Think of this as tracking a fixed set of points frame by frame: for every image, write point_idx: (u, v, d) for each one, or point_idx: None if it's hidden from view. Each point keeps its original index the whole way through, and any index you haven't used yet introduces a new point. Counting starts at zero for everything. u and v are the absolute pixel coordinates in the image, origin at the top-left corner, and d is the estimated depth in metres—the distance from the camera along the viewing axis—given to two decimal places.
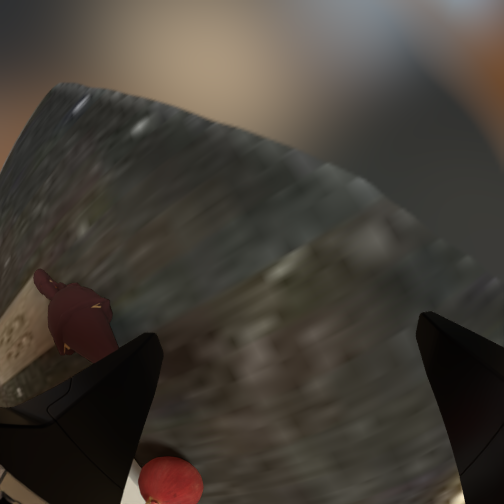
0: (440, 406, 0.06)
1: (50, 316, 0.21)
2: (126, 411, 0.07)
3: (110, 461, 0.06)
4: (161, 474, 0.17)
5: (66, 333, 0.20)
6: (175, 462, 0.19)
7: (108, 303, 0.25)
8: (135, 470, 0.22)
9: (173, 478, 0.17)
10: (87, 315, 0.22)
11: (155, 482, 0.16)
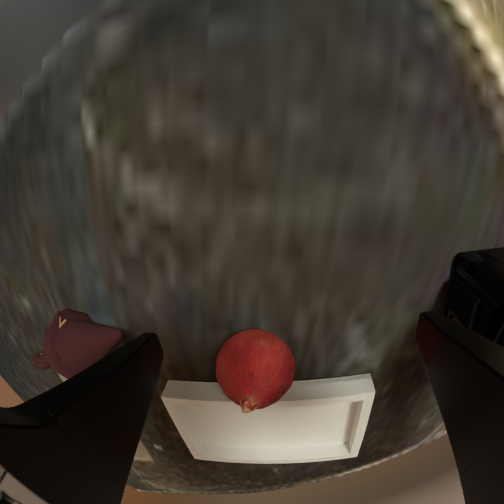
0: (440, 406, 0.06)
1: (55, 370, 0.20)
2: (126, 411, 0.07)
3: (110, 461, 0.06)
4: (223, 369, 0.18)
5: (69, 364, 0.20)
6: (225, 345, 0.20)
7: (69, 311, 0.23)
8: None
9: (232, 360, 0.18)
10: (61, 335, 0.21)
11: (227, 383, 0.18)
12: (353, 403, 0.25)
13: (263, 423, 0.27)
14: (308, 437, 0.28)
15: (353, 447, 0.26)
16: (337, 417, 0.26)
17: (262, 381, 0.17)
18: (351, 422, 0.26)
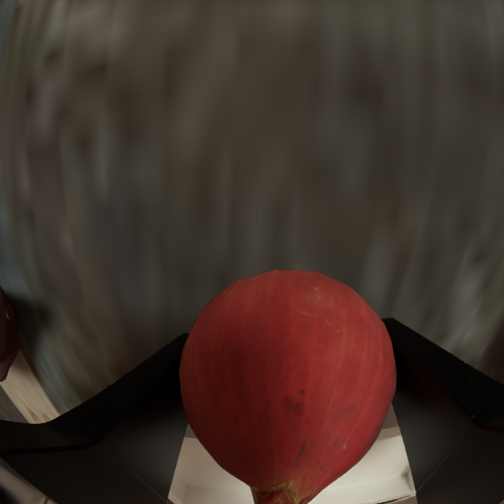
0: (397, 417, 0.06)
1: None
2: (171, 418, 0.07)
3: (155, 473, 0.05)
4: (195, 386, 0.05)
5: None
6: (205, 311, 0.07)
7: None
8: None
9: (224, 358, 0.05)
10: None
11: (208, 430, 0.05)
12: None
13: None
14: (353, 476, 0.15)
15: None
16: None
17: (333, 426, 0.04)
18: None
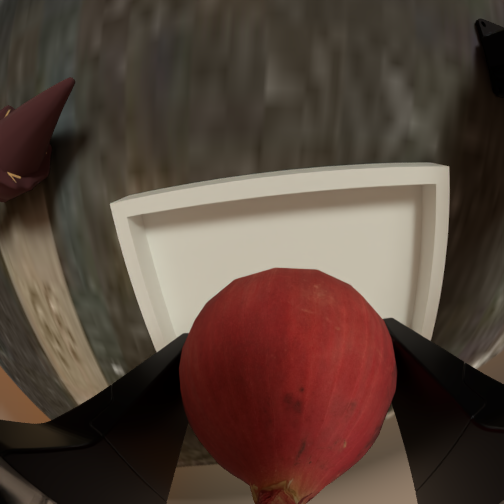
0: (397, 417, 0.06)
1: None
2: (171, 418, 0.07)
3: (155, 473, 0.05)
4: (194, 384, 0.05)
5: None
6: (204, 309, 0.07)
7: None
8: (246, 176, 0.16)
9: (223, 355, 0.05)
10: (1, 120, 0.12)
11: (208, 428, 0.05)
12: (417, 221, 0.16)
13: None
14: None
15: (426, 321, 0.17)
16: (396, 256, 0.17)
17: (333, 424, 0.04)
18: (416, 272, 0.18)
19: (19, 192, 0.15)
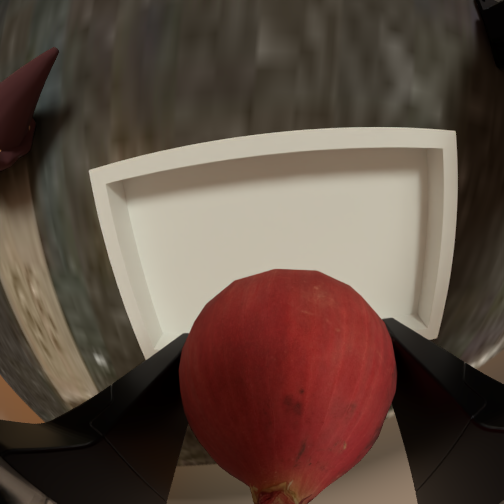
0: (397, 417, 0.06)
1: None
2: (171, 418, 0.07)
3: (155, 473, 0.05)
4: (194, 385, 0.05)
5: None
6: (204, 310, 0.07)
7: None
8: None
9: (223, 357, 0.05)
10: None
11: (208, 430, 0.05)
12: (423, 193, 0.15)
13: (268, 246, 0.17)
14: None
15: (434, 304, 0.15)
16: (401, 231, 0.16)
17: (333, 425, 0.04)
18: (423, 250, 0.16)
19: None
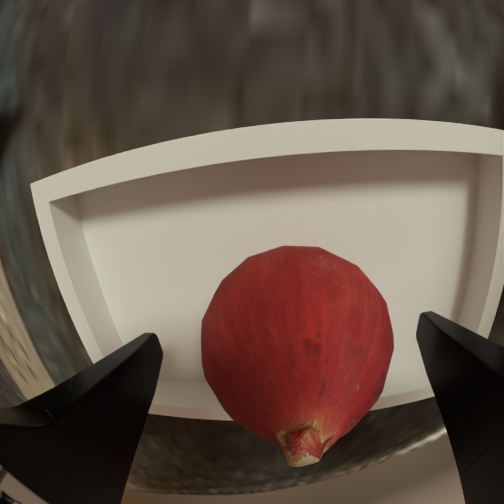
0: (440, 406, 0.06)
1: None
2: (126, 411, 0.07)
3: (110, 461, 0.06)
4: (221, 344, 0.07)
5: None
6: (223, 283, 0.08)
7: None
8: None
9: (248, 313, 0.06)
10: None
11: (235, 383, 0.06)
12: (470, 212, 0.10)
13: None
14: None
15: None
16: (440, 262, 0.11)
17: (346, 365, 0.05)
18: (463, 285, 0.11)
19: None
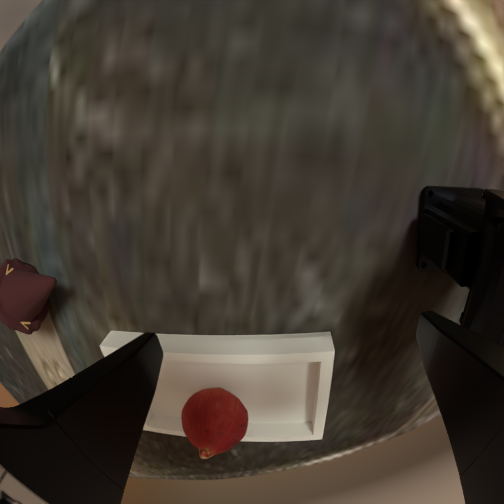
0: (440, 406, 0.06)
1: None
2: (126, 411, 0.07)
3: (110, 461, 0.06)
4: (186, 423, 0.20)
5: (8, 310, 0.18)
6: (188, 401, 0.22)
7: (17, 261, 0.21)
8: (186, 342, 0.23)
9: (192, 418, 0.20)
10: (5, 281, 0.19)
11: (189, 434, 0.20)
12: (312, 369, 0.24)
13: None
14: (264, 411, 0.26)
15: (316, 426, 0.24)
16: (295, 387, 0.25)
17: (216, 436, 0.19)
18: (313, 395, 0.25)
19: None
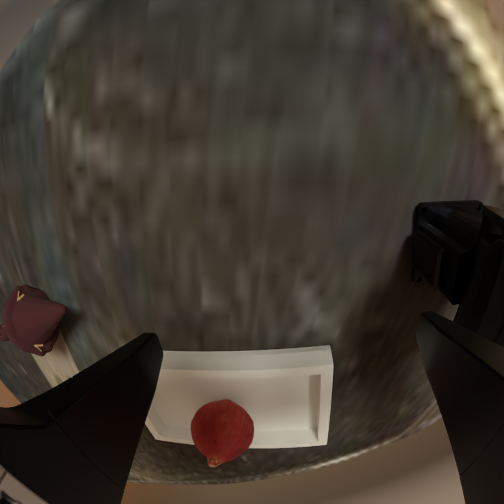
0: (440, 406, 0.06)
1: (11, 340, 0.20)
2: (126, 411, 0.07)
3: (110, 461, 0.06)
4: (195, 434, 0.21)
5: (22, 335, 0.20)
6: (196, 414, 0.23)
7: (27, 287, 0.23)
8: (193, 358, 0.24)
9: (201, 429, 0.21)
10: (17, 308, 0.20)
11: (198, 444, 0.20)
12: (314, 380, 0.24)
13: (219, 400, 0.26)
14: (270, 419, 0.27)
15: (320, 433, 0.25)
16: (299, 397, 0.25)
17: (223, 446, 0.20)
18: (316, 404, 0.25)
19: None
